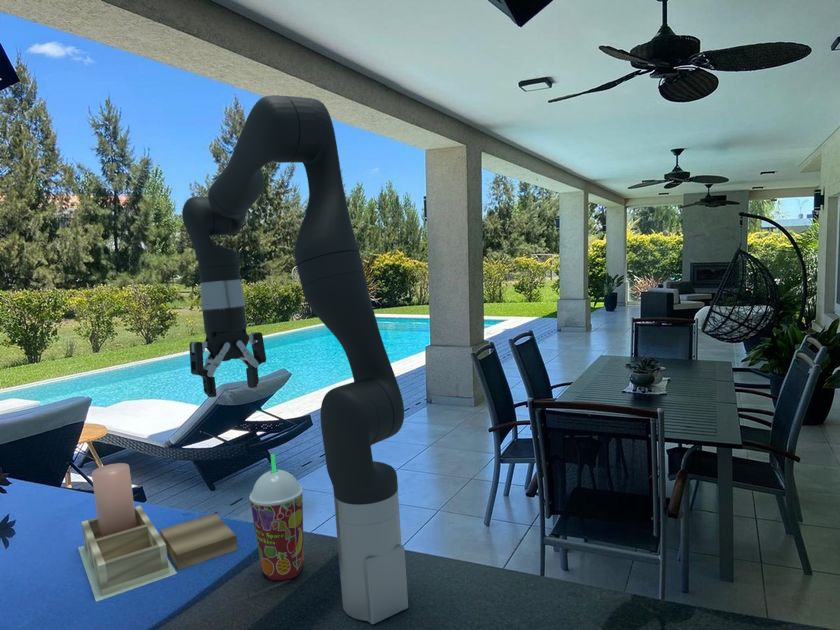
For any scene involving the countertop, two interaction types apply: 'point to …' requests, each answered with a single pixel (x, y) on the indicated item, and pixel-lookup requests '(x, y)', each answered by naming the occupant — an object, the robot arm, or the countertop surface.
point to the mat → (99, 596)
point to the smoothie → (278, 523)
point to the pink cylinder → (114, 498)
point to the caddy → (125, 554)
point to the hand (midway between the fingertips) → (233, 391)
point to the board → (198, 540)
